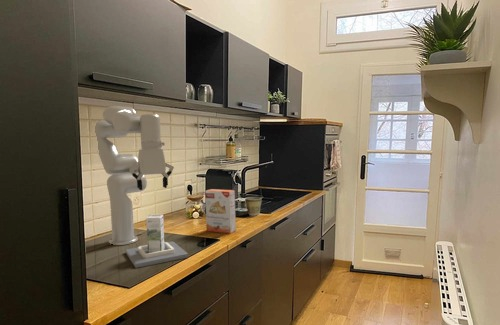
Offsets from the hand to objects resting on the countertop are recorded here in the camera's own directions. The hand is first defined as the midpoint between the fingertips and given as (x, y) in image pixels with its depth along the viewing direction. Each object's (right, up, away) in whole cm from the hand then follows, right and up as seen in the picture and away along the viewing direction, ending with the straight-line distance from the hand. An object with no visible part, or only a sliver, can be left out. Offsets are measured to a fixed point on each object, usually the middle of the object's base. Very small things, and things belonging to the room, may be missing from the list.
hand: (152, 188), depth 136 cm
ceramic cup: (+41, -21, +74) cm, 87 cm away
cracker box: (+24, -24, +35) cm, 49 cm away
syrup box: (+1, -26, +2) cm, 26 cm away
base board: (+1, -27, +2) cm, 27 cm away
